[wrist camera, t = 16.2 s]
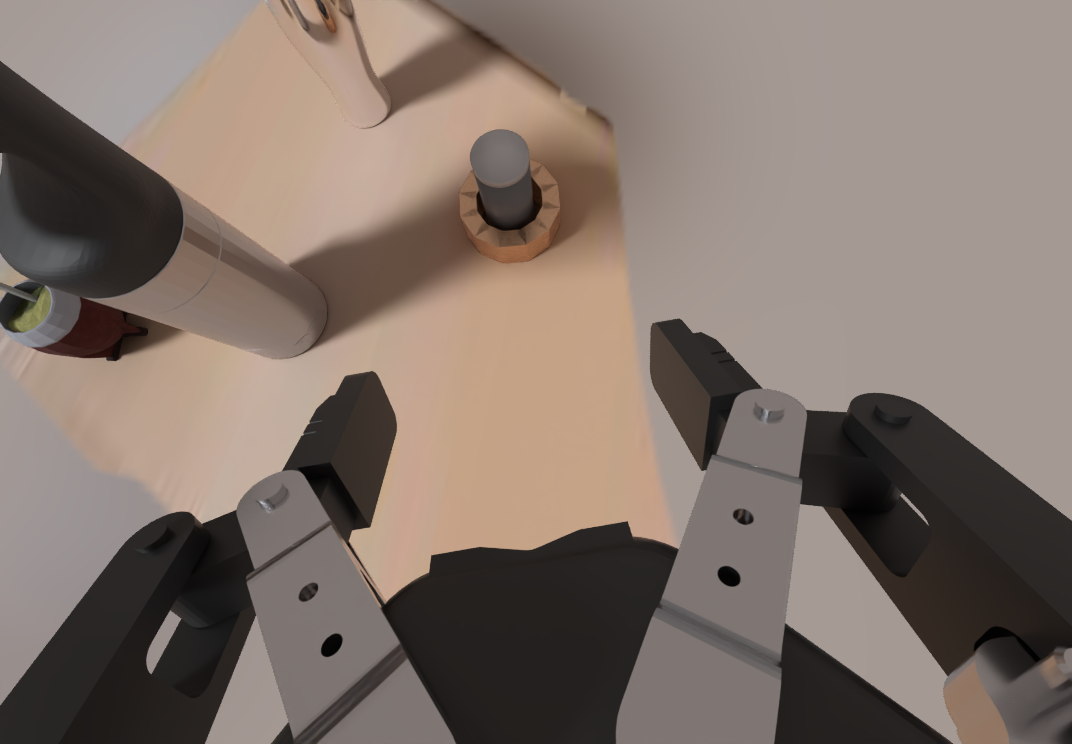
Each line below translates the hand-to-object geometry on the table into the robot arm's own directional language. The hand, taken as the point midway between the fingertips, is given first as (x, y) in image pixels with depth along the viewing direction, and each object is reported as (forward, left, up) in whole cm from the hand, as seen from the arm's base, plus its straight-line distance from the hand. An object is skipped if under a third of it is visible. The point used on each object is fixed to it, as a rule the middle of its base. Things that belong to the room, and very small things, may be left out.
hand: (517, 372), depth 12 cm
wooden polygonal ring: (-12, +19, -29) cm, 36 cm away
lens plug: (-12, +19, -29) cm, 36 cm away
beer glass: (-34, +25, -29) cm, 51 cm away
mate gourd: (-45, -10, -29) cm, 55 cm away
